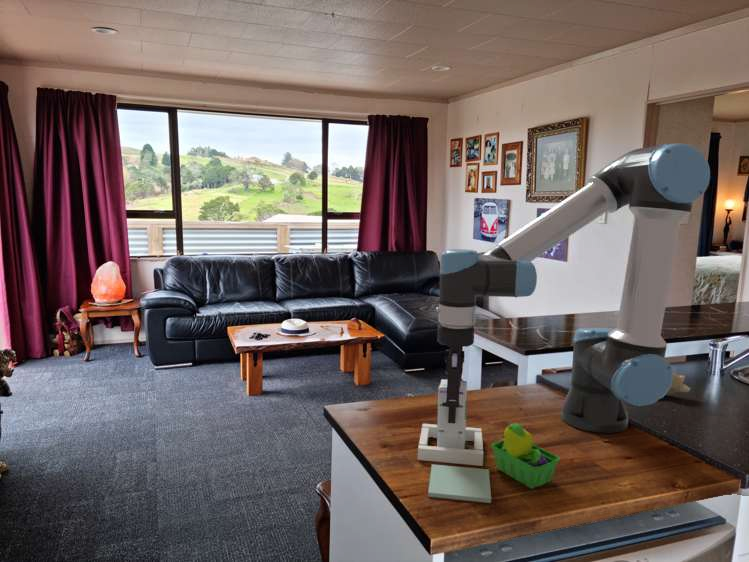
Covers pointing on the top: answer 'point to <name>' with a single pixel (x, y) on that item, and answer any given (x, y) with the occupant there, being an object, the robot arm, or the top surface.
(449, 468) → the mat
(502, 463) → the fruit basket
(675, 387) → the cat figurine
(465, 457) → the white open square frame
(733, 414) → the top surface
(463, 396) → the syrup box
